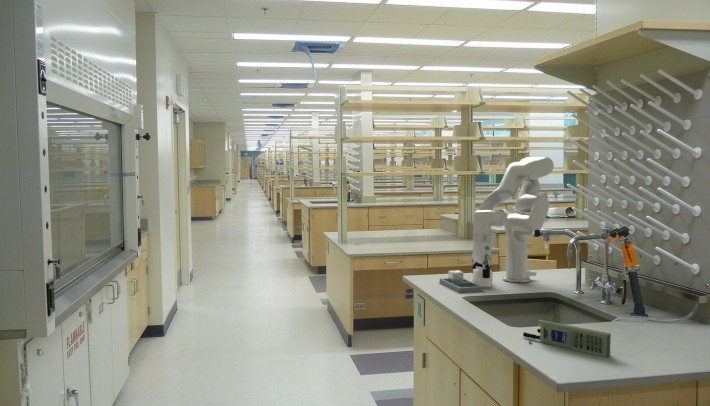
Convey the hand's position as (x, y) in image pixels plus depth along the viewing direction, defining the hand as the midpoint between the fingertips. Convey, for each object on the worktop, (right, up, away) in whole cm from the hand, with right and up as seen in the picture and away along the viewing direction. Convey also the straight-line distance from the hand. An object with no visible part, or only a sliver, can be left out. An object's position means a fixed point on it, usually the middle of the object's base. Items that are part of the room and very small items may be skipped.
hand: (480, 276), depth 234 cm
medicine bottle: (+1, -5, 0) cm, 5 cm away
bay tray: (-10, -5, -3) cm, 11 cm away
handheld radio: (+5, -10, -81) cm, 82 cm away
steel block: (-11, -4, +2) cm, 12 cm away
